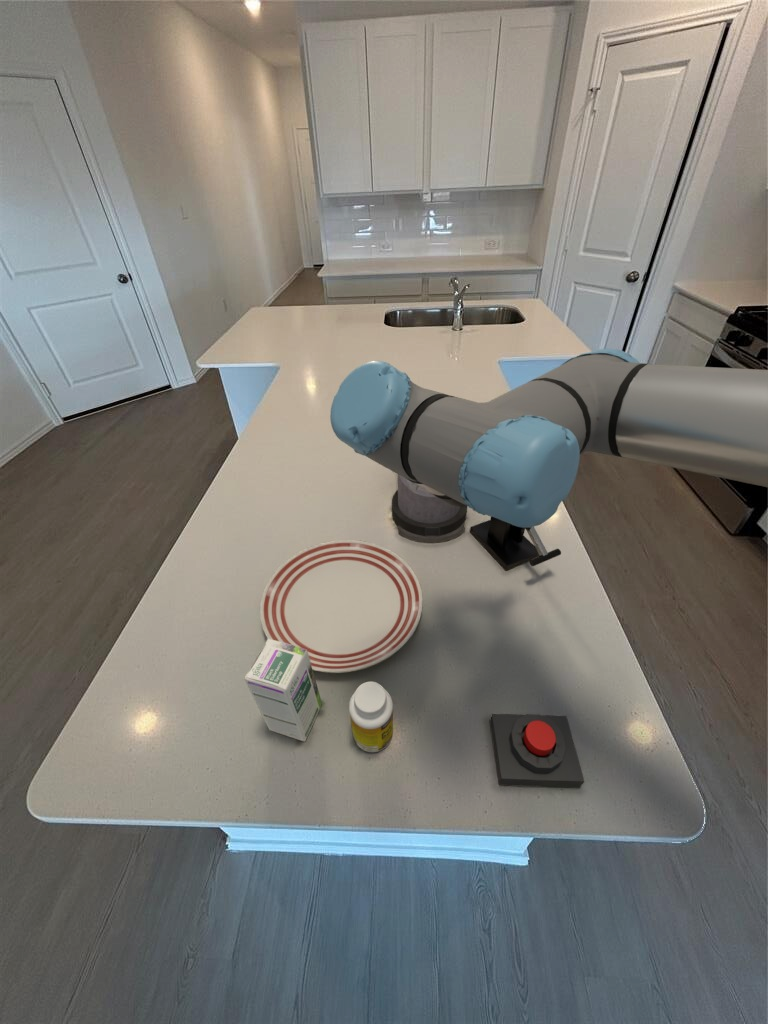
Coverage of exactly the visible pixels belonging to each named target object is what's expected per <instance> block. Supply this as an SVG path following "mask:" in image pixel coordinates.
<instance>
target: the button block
mask: <svg viewBox="0 0 768 1024" xmlns="http://www.w3.org/2000/svg"><path fill="white" fill-rule="evenodd" d="M532 721H542V722H545V723H546V724H548V725H549V726H550V727H551V728H552V729H553V731H554V733H555V736H556V742H555V745H554V747H553V749H552V750H551V752H550V753H549V754H547V755H545V756H539V755H535V754H533V753H532V752H531V751H529V750H528V748H527V747H526V745H525V743H524V739H523V736H524V732H525V730H526V727H527V725H528V724H529V723H530V722H532ZM489 723H490V724H489V725H490V731H491V737H492V746H493V753H494V760H495V767H496V775H497V782H498V785H499V786H516V787H517V786H518V787H519V786H520V787H545V788H546V787H547V788H570V789H571V788H573V789H574V788H575V789H580V788H581V787H582V785H583V784H584V783H585V778H584V774H583V771H582V767H581V764H580V760H579V757H578V753H577V749H576V745H575V741H574V737H573V735H572V730H571V728H570V723H569V720H568V716H567V715H559V714H558V715H557V714H556V715H553V714H539V713H536V714H535V713H526V714H525V713H524V714H523V713H522V714H521V713H520V714H519V713H491V716H490V719H489Z"/></svg>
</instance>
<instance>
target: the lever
mask: <svg viewBox="0 0 768 1024" xmlns="http://www.w3.org/2000/svg"><path fill="white" fill-rule="evenodd" d="M526 532H527V535H528V536H529V538H530V540H531V543H532V544H533V545H534V546H535V548H536V549H537V551H538V553H539V555H540V556H538V557H536V558H534V559H531V560H530V561H528V563H529V565H530V567H536V566H538V565H540V564H542V563H545V562H548V561H549V560H551V559H553V558H557V557H558V556H561V555H562V551H561V549H559V548H555V549H552V550H551V551H547V548H546V547H545V545H544V543H543V540H542V539H541V537H540V536H539V534H538V532H537V530H536V528H535V526H534V527H531V529H530V530H529V531H528V530H526Z"/></svg>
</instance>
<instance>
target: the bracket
mask: <svg viewBox="0 0 768 1024" xmlns="http://www.w3.org/2000/svg"><path fill="white" fill-rule="evenodd" d="M525 531H526V529H525V528H522V527H517V526H515V525H514V526H511V525H510V524H509V523H507V522H505V521H502V520H499V519H497V518H494V517H490V519H488V520H486V521H483V522H481V523H478V524H475V525H471V526H470V527H469V533H470V534H471V535H472V536H473V537H474V538H475V540H476V541H477V542H478V543H479V544H480V545H481V546H482V547H483V548H484V549H485V550H486V551H487V553H489V555H491V557H492V558H493V559H494V560H495V561H496V562H497V563H498V564H499V565H500V567H502V569H504V571H506V572H507V571H509V570H511V569H515V568H516V567H518V566H521V565H523V564H526V563H529V561H530V560H531V559H534V558H536V557H538V556H540V555H539V553H538V551H537V549H536V548H535V546H534V544H533V542H532V541H530V540H529V539H528V538H527V537H526V536H525Z"/></svg>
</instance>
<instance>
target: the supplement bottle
mask: <svg viewBox="0 0 768 1024" xmlns="http://www.w3.org/2000/svg"><path fill="white" fill-rule="evenodd" d="M392 699H393V698H392V696H391V695H390V694H389V692H388V691H387V690H386V689H385V688H384V687H383V686H382V685H381V684H380V683H378V682H376V681H365V682H363V683H361V684H360V685H359V686H358V687H357V688H356V689H355V691H354V692H353V694H352V695H351V697H350V699H349V703H348V712H349V719H350V724H351V730H352V736H353V739H354V742H355V743H356V745H357V747H359V748H360V749H361V750H363V751H364V752H368V753H378V752H380V751H383V750H384V749H385V748H386V747H388V745H390V743H391V741H392V739H393V735H394V705H393V700H392Z"/></svg>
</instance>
